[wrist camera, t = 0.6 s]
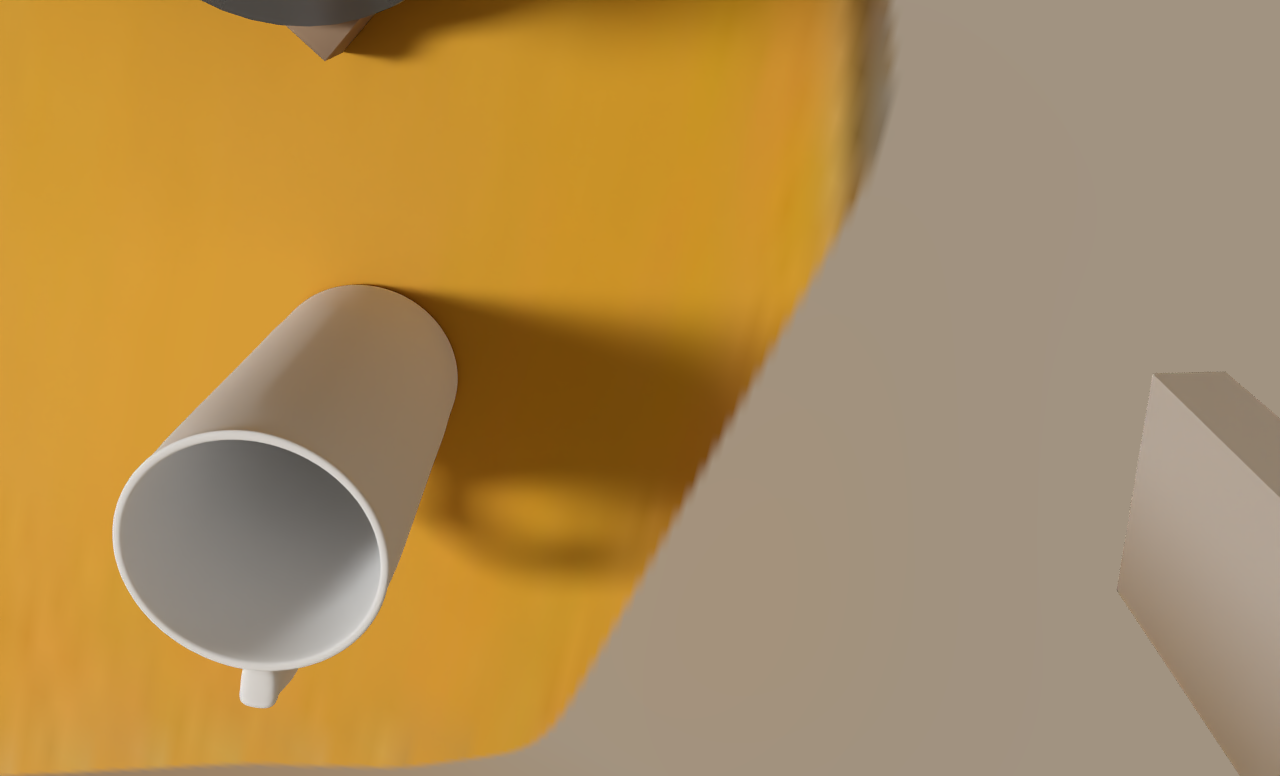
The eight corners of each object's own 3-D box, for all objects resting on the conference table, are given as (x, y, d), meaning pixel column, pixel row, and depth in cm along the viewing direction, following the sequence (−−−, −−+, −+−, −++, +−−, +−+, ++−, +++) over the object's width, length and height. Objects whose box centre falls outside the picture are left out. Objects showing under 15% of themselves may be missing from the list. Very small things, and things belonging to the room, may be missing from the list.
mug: (274, 256, 37) (112, 407, 26) (478, 294, 38) (402, 458, 27) (257, 521, 41) (110, 748, 30) (442, 552, 42) (363, 788, 31)
